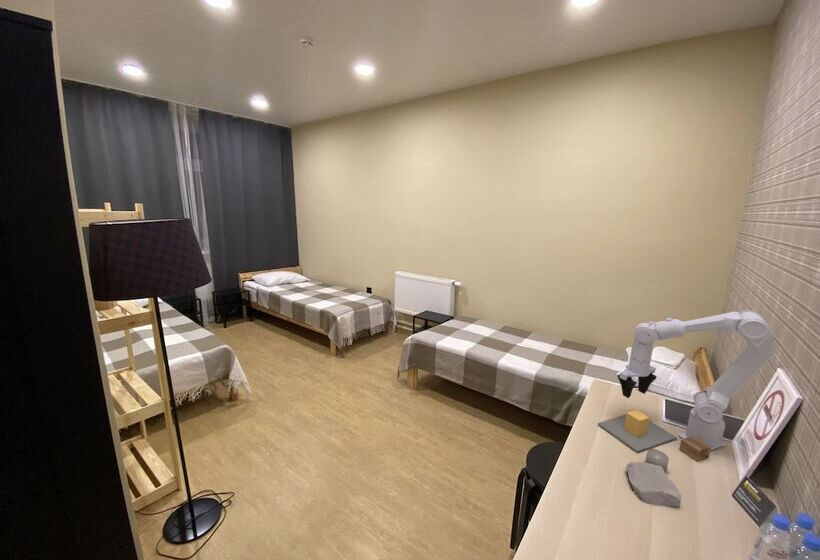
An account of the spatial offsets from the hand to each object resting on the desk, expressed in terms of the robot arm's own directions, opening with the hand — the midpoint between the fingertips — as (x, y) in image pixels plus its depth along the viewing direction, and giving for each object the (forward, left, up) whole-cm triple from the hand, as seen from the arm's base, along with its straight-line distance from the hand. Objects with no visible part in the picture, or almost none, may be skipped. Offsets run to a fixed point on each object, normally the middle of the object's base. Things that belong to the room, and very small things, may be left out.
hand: (633, 394), depth 116 cm
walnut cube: (-2, +19, -10) cm, 21 cm away
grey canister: (+14, +19, -10) cm, 25 cm away
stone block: (+23, +23, -10) cm, 34 cm away
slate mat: (+5, +6, -9) cm, 12 cm away
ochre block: (+6, +6, -9) cm, 12 cm away
